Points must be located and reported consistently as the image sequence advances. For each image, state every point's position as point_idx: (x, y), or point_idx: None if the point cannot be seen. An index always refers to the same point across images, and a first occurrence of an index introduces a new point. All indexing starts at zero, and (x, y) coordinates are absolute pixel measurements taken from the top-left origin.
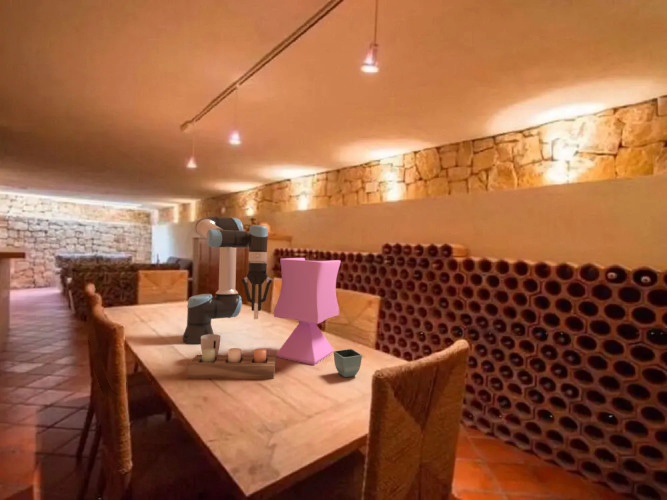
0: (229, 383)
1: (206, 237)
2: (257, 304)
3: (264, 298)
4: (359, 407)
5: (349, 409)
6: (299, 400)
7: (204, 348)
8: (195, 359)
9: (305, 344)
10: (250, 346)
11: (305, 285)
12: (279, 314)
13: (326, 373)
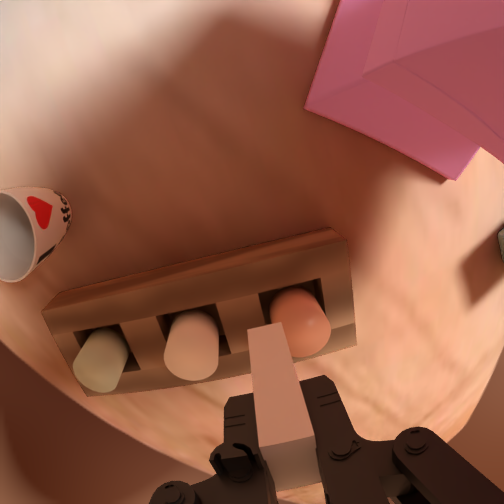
0: (225, 380)
1: None
2: (314, 474)
3: (422, 501)
4: (486, 374)
5: (472, 386)
6: (405, 396)
7: (26, 263)
8: (70, 355)
9: (455, 134)
10: (139, 8)
11: None
12: (431, 101)
13: (474, 241)
